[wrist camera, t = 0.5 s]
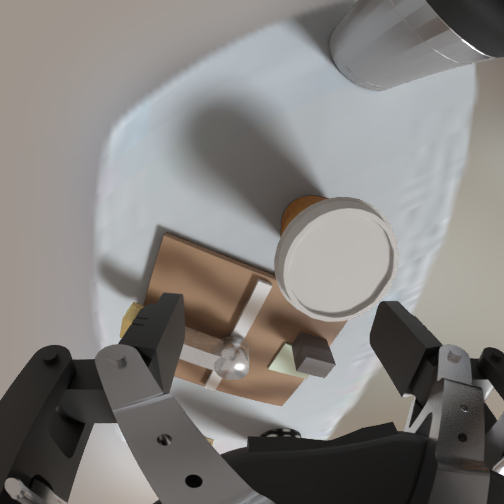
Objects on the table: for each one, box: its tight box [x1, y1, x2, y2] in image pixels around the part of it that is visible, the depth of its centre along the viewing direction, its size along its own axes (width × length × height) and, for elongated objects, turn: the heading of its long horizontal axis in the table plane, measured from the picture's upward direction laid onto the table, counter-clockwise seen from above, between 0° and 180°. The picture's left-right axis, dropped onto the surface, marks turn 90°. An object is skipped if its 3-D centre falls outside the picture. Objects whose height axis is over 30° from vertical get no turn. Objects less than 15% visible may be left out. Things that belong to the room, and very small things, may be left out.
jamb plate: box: [144, 233, 348, 406], centre depth 32 cm, size 20×24×6 cm
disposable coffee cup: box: [274, 195, 399, 322], centre depth 24 cm, size 10×10×12 cm
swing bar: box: [120, 302, 249, 380], centre depth 29 cm, size 15×4×4 cm, turn 67°
